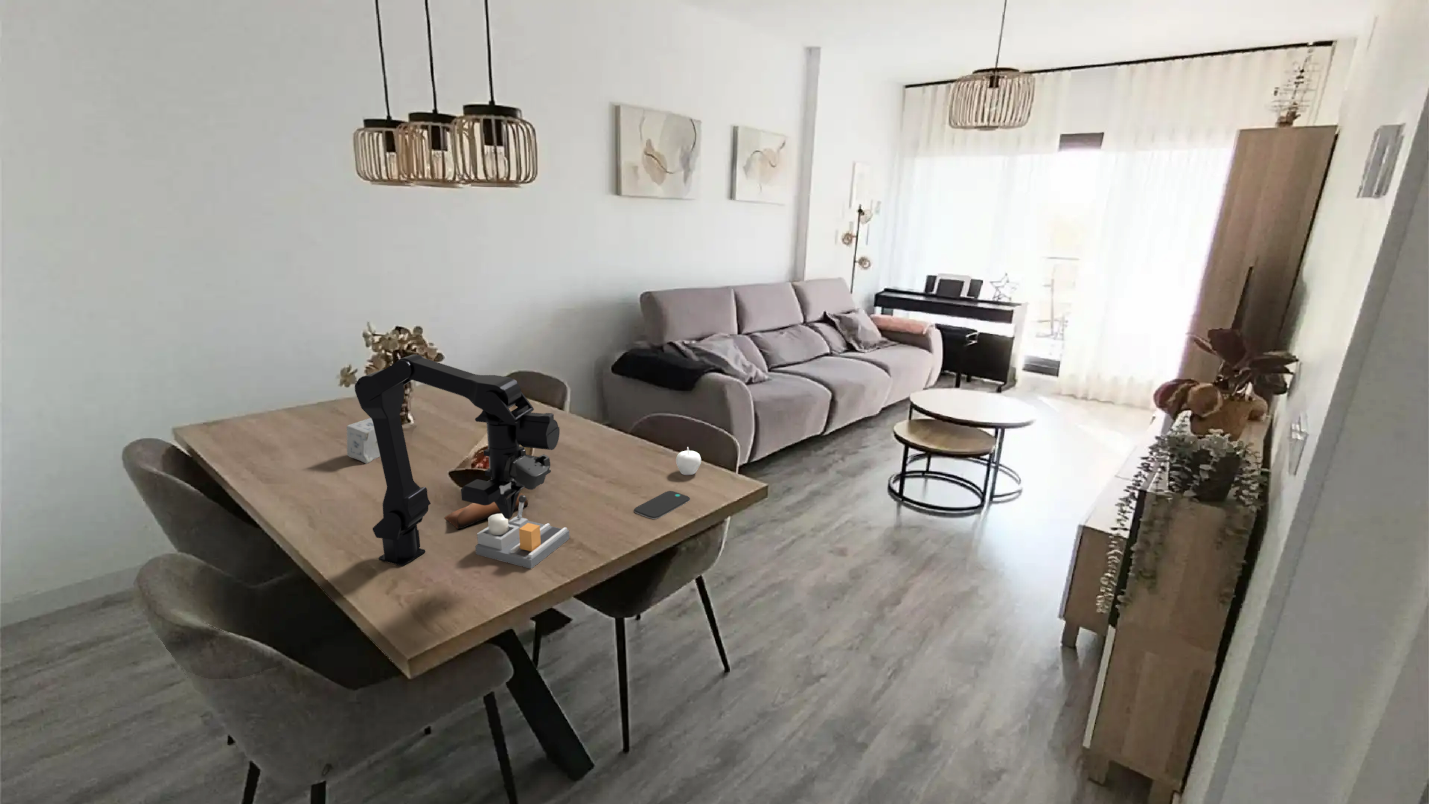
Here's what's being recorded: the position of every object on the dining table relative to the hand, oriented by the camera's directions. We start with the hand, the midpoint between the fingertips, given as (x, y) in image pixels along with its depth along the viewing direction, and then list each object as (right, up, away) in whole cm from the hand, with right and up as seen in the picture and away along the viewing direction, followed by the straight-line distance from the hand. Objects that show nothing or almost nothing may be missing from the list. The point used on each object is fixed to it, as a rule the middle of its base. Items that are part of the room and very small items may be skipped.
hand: (508, 518), depth 129 cm
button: (-5, -5, +11) cm, 13 cm away
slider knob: (+2, -8, +9) cm, 12 cm away
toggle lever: (-4, -3, +19) cm, 20 cm away
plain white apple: (+33, +3, +56) cm, 65 cm away
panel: (-1, -8, +13) cm, 16 cm away
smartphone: (+28, -3, +35) cm, 45 cm away
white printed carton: (-57, +7, +58) cm, 82 cm away
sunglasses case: (-14, -4, +28) cm, 32 cm away
